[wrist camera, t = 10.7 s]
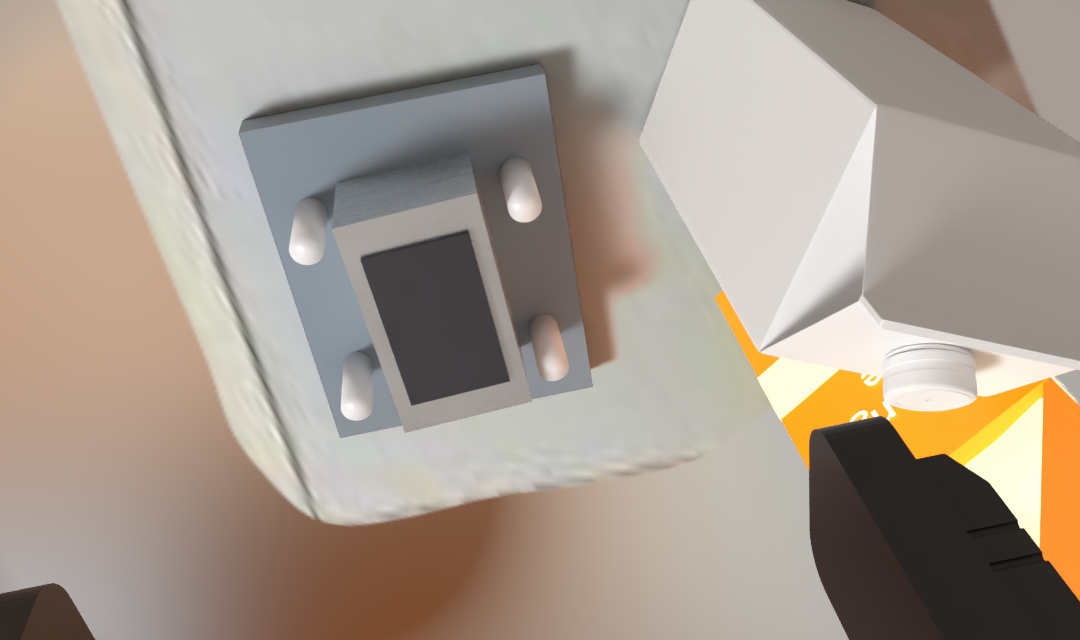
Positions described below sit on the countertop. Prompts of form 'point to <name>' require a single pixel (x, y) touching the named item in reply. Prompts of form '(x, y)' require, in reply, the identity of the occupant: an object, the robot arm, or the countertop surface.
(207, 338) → the countertop surface
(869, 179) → the milk carton
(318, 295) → the grey plate with pegs
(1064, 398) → the orange juice
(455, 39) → the countertop surface
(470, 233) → the block
